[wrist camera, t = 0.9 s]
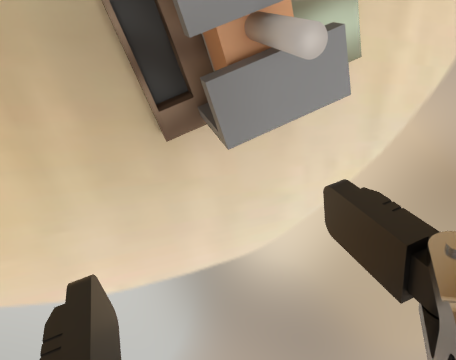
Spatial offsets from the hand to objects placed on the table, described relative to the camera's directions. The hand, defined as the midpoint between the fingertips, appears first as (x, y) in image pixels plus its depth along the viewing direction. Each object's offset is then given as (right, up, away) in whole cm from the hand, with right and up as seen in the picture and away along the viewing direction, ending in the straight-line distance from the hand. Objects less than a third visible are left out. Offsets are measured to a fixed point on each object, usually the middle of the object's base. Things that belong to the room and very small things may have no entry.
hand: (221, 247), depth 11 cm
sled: (+1, +16, +18) cm, 24 cm away
